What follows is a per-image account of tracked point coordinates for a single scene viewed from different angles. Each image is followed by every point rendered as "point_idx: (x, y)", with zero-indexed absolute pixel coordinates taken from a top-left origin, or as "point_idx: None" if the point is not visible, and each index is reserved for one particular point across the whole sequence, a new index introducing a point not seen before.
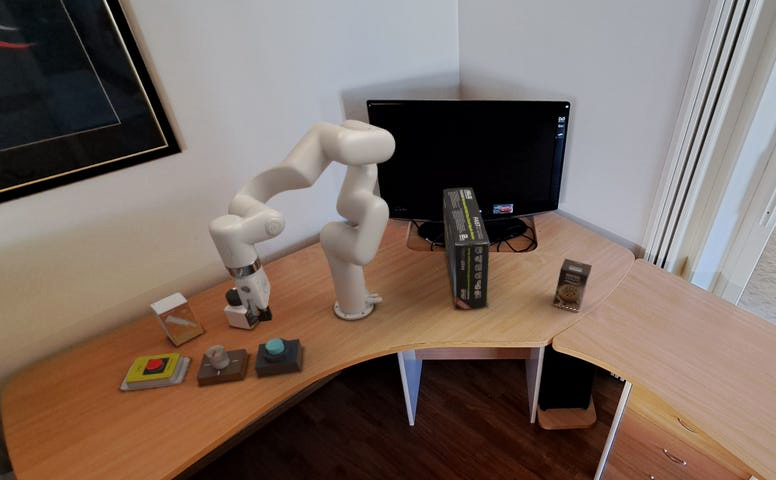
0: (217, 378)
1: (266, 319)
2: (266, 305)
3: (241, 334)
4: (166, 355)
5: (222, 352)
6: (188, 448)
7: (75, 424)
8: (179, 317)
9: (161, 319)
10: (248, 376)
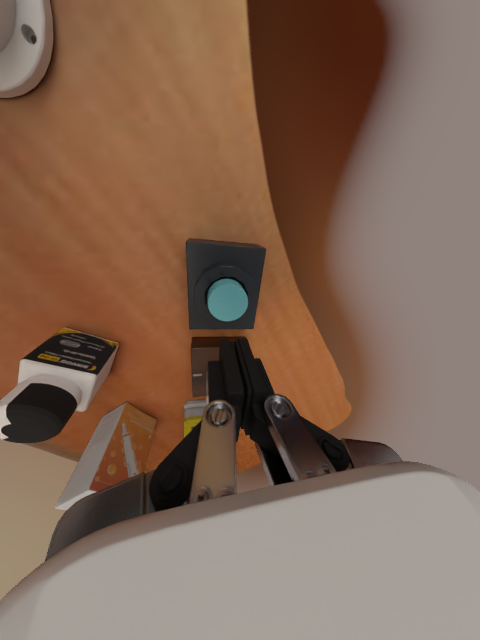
0: None
1: (260, 361)
2: (459, 493)
3: (133, 355)
4: (187, 430)
5: None
6: (325, 369)
7: (252, 446)
8: (124, 463)
9: None
10: (240, 330)
